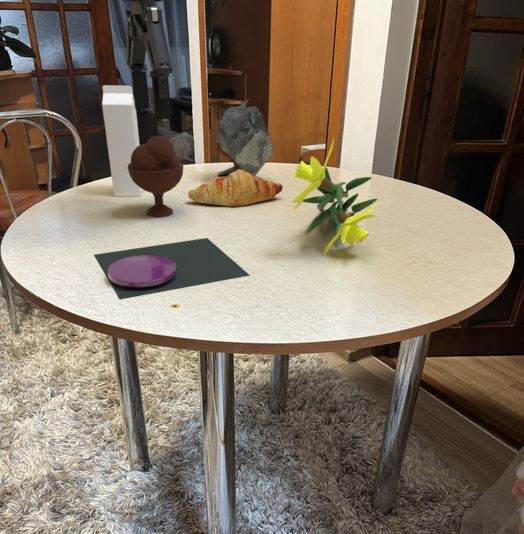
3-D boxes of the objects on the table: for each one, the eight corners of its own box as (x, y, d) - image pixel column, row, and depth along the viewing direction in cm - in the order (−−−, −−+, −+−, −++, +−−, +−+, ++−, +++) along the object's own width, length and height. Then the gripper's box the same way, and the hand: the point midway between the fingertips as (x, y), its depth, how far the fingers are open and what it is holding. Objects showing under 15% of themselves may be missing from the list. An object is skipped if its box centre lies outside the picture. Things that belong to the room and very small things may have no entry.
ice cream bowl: (184, 204, 111) (180, 129, 103) (187, 220, 101) (182, 140, 93) (134, 205, 109) (126, 130, 101) (132, 222, 100) (122, 141, 92)
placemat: (94, 257, 84) (93, 254, 84) (207, 240, 92) (207, 237, 92) (120, 303, 71) (119, 299, 70) (250, 278, 78) (250, 275, 78)
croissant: (192, 223, 110) (192, 195, 104) (183, 190, 115) (183, 161, 108) (285, 214, 115) (291, 187, 109) (273, 183, 120) (278, 155, 113)
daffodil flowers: (391, 220, 107) (401, 228, 74) (327, 252, 111) (310, 273, 78) (356, 144, 104) (351, 118, 71) (293, 180, 108) (260, 171, 75)
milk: (141, 197, 115) (130, 87, 103) (113, 196, 114) (99, 86, 102) (144, 189, 120) (133, 84, 108) (117, 189, 119) (104, 83, 108)
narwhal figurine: (213, 188, 122) (210, 105, 112) (217, 173, 135) (215, 97, 125) (273, 189, 122) (275, 107, 112) (271, 174, 135) (273, 98, 125)
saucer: (102, 270, 79) (101, 260, 78) (165, 260, 83) (164, 251, 82) (117, 296, 71) (116, 286, 70) (186, 284, 75) (185, 274, 74)
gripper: (186, -33, 76) (194, 122, 87) (141, -22, 95) (152, 104, 106) (136, -36, 73) (151, 124, 84) (100, -24, 92) (116, 106, 103)
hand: (152, 113), depth 95 cm, fingers open, 13 cm apart
